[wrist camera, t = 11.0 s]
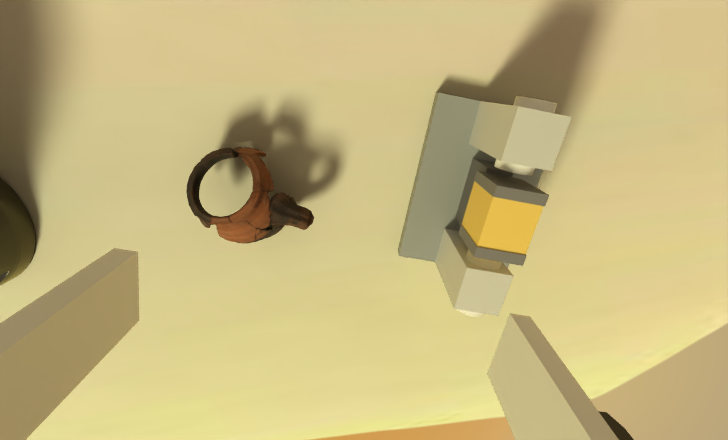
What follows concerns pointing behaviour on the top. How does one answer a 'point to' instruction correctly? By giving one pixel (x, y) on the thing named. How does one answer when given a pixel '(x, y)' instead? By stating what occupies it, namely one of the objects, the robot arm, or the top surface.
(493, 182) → the box
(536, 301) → the top surface
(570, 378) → the robot arm
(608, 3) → the top surface
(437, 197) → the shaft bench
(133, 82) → the top surface
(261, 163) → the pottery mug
